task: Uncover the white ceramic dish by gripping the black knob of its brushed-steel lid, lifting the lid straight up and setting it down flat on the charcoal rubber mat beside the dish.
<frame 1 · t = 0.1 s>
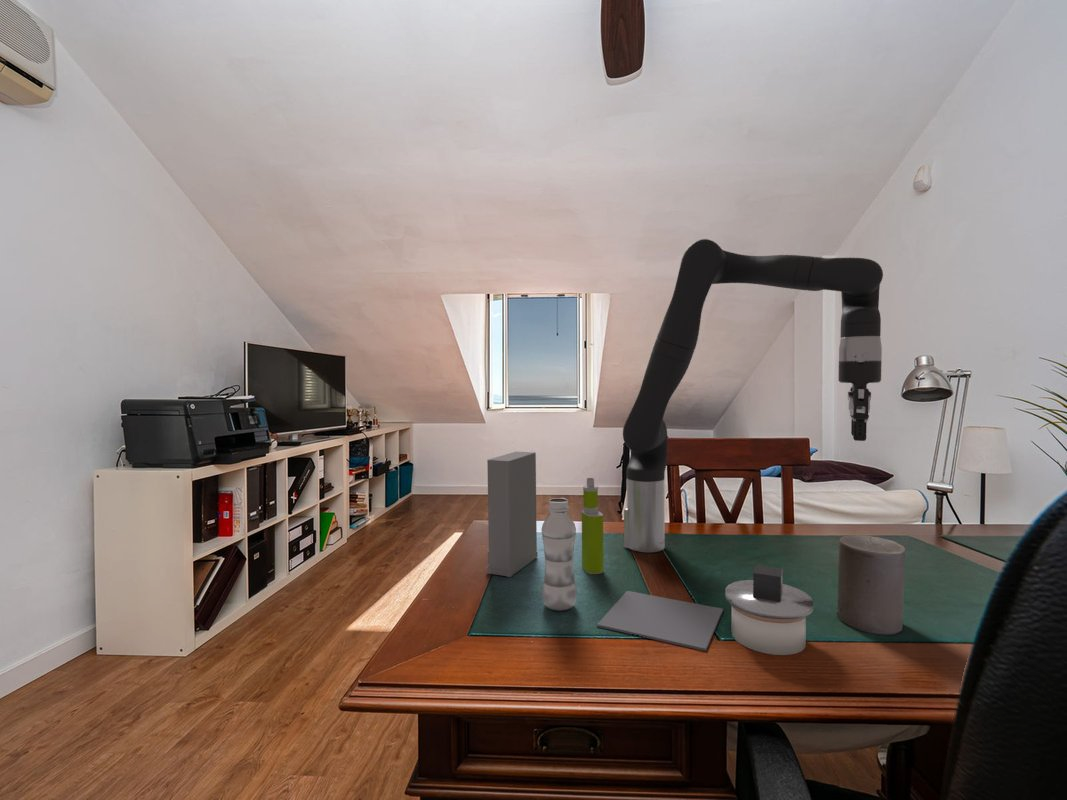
hand: (858, 438, 111), 29 cm above the table, tool pointing down, fingers open, 8 cm apart
lid: (767, 601, 87), point 6 cm above the table, touching dish
plastic bottle: (559, 608, 99), on the table
mat: (661, 618, 94), on the table
pillar candle: (869, 622, 92), on the table
upright grey slab box: (512, 566, 122), on the table
dish: (767, 637, 87), on the table
vape: (592, 569, 119), on the table
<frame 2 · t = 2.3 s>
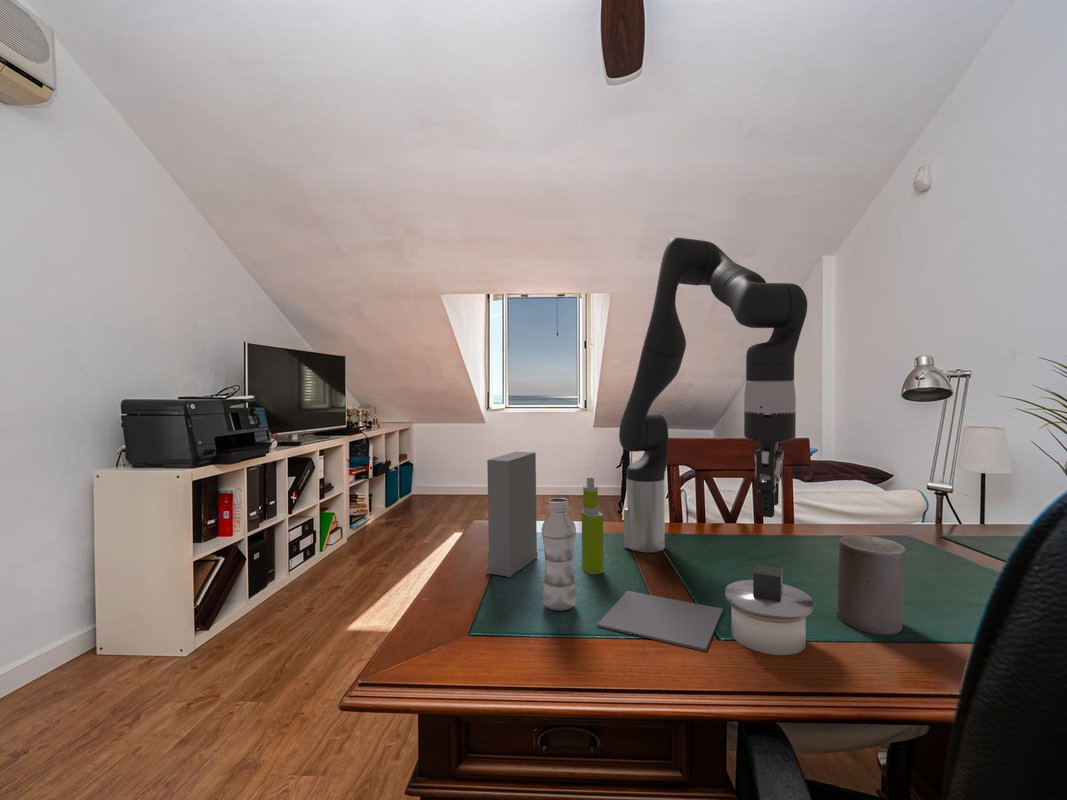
hand: (768, 510, 86), 21 cm above the table, tool pointing down, fingers open, 8 cm apart
nothing on the table moved.
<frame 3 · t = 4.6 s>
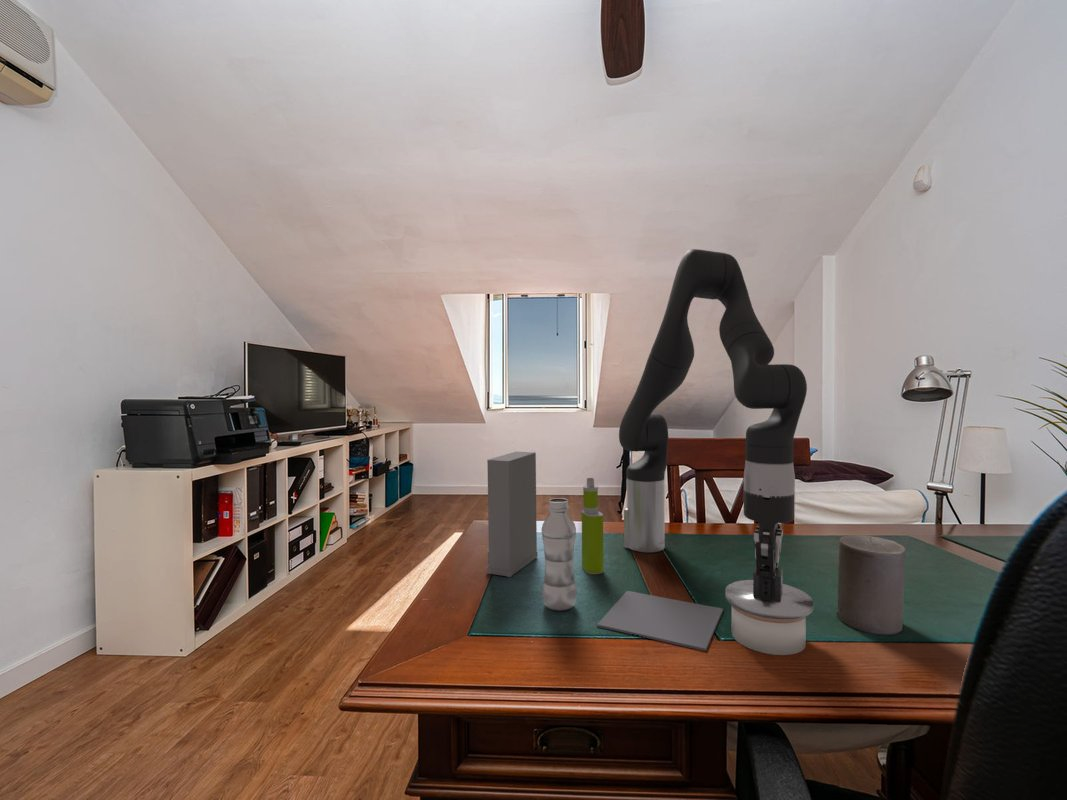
hand: (767, 593, 87), 7 cm above the table, tool pointing down, fingers closed on lid, 4 cm apart
lid: (767, 601, 87), point 6 cm above the table, touching dish, gripper
everything else where it was.
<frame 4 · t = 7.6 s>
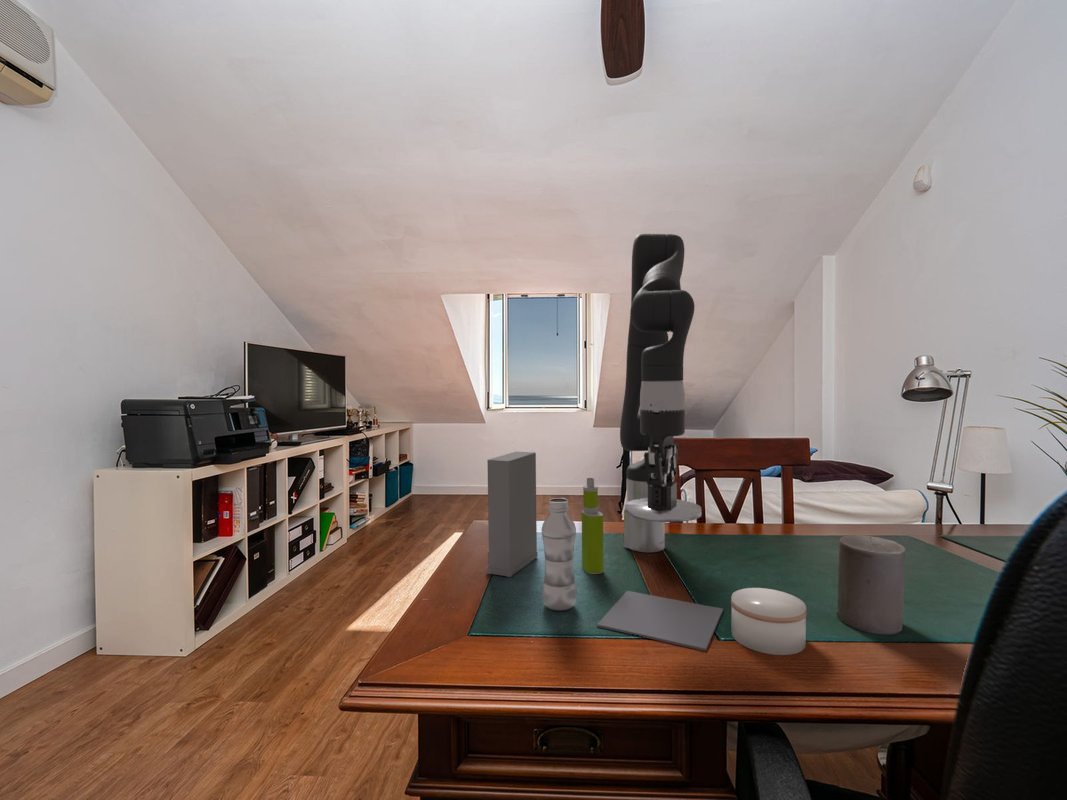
hand: (662, 505, 94), 20 cm above the table, tool pointing down, fingers closed on lid, 4 cm apart
lid: (662, 512, 94), point 19 cm above the table, touching gripper
everything else where it was.
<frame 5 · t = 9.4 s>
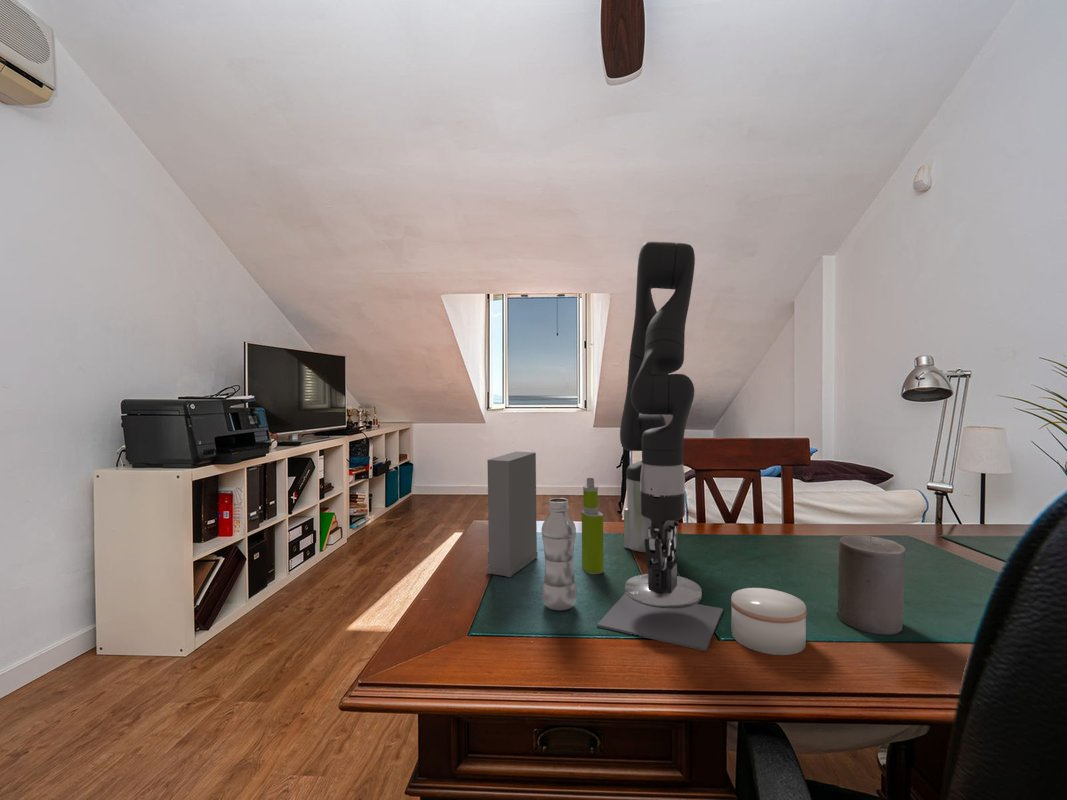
hand: (662, 585, 94), 6 cm above the table, tool pointing down, fingers closed on lid, 4 cm apart
lid: (662, 592, 94), point 5 cm above the table, touching gripper
everything else where it was.
when the fingers open (3 cm above the table, at t = 10.7 s): lid drops 2 cm, resting on mat.
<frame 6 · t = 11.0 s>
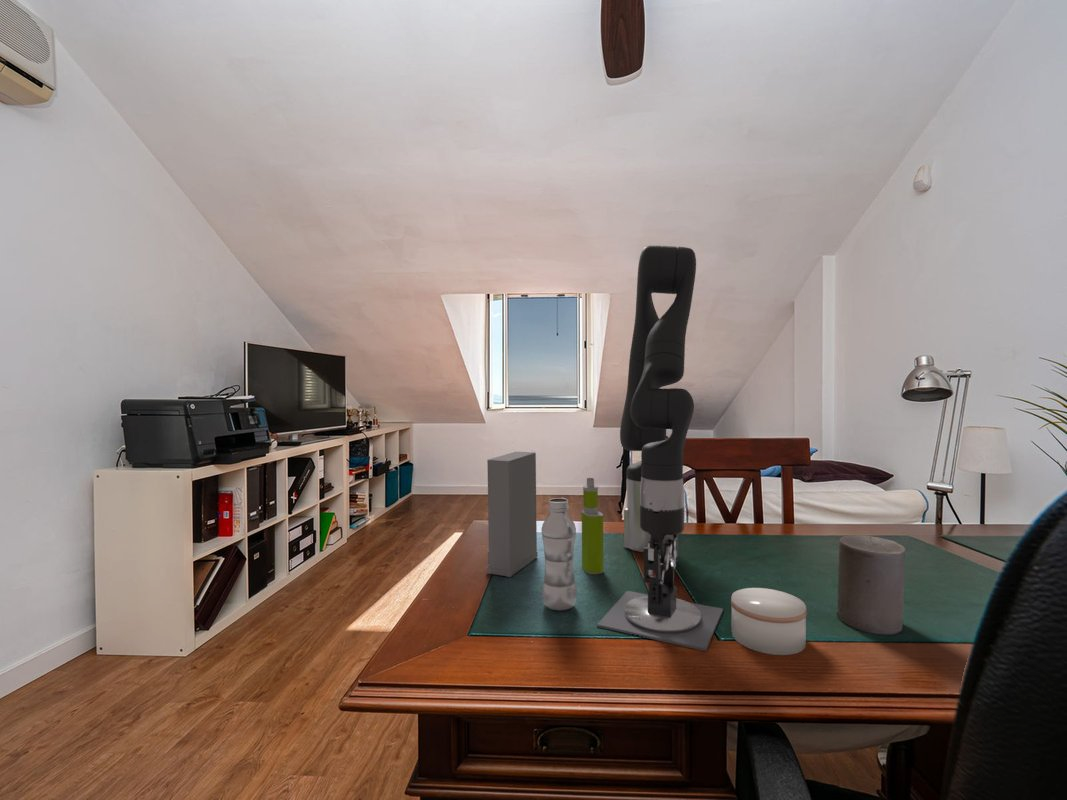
hand: (661, 596, 94), 4 cm above the table, tool pointing down, fingers open, 7 cm apart
lid: (662, 616, 94), resting on mat
everything else where it was.
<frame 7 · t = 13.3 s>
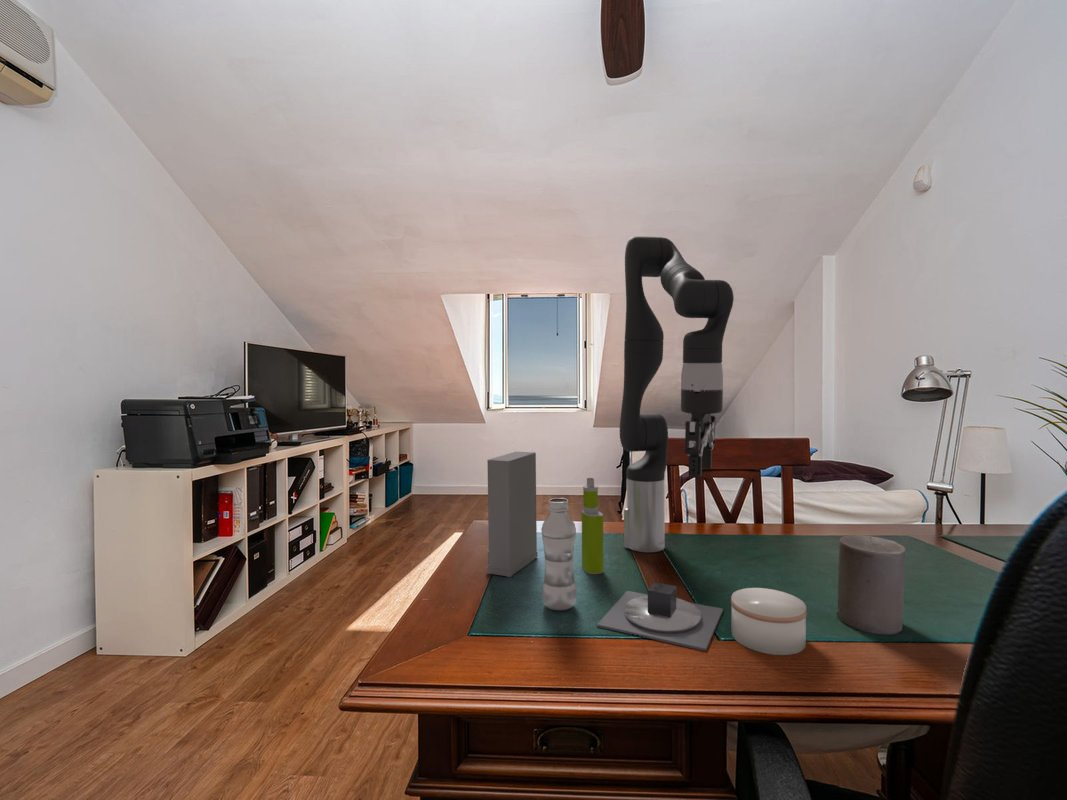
hand: (700, 472, 102), 24 cm above the table, tool pointing down, fingers open, 8 cm apart
nothing on the table moved.
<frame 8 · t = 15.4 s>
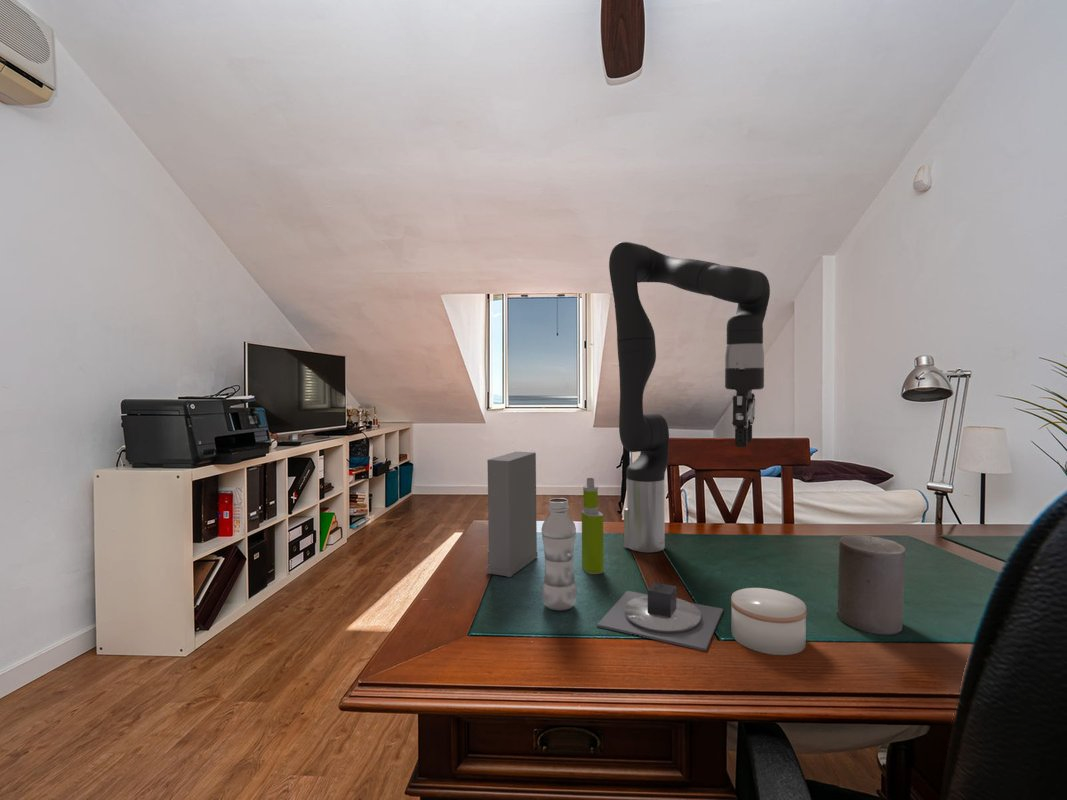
hand: (743, 444, 112), 28 cm above the table, tool pointing down, fingers open, 8 cm apart
nothing on the table moved.
at the end: lid inside the target area on the mat (0.1 cm from its centre), point 0.4 cm above the mat's base; lid tilted 0°; the gripper is holding nothing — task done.
